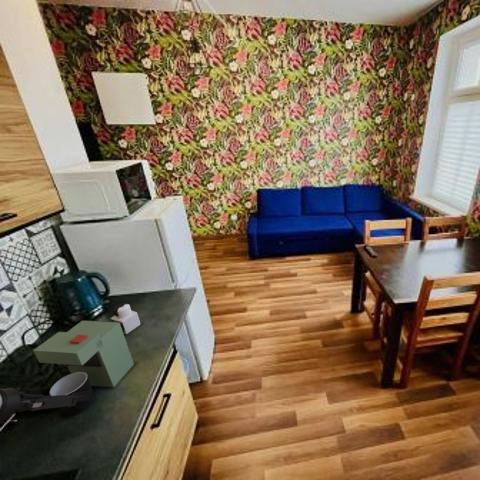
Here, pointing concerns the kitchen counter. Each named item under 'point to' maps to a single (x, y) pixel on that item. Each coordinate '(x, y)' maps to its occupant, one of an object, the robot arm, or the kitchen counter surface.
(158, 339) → the kitchen counter surface
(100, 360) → the coffee machine
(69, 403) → the robot arm
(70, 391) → the mug
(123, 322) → the medicine bottle
